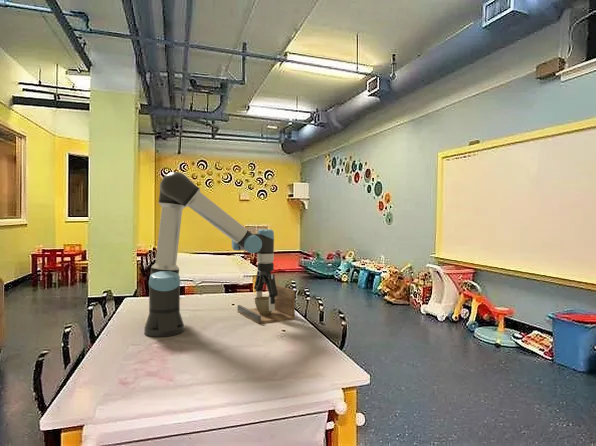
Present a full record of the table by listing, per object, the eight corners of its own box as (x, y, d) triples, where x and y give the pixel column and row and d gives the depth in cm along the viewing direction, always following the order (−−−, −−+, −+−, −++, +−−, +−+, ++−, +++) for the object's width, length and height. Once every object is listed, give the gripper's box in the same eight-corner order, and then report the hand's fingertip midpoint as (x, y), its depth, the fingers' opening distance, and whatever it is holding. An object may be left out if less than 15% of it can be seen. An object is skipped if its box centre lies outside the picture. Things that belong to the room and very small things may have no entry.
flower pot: (274, 316, 189) (275, 300, 188) (253, 315, 189) (253, 300, 189) (276, 311, 199) (276, 296, 198) (255, 310, 199) (255, 296, 199)
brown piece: (258, 324, 179) (258, 294, 178) (237, 312, 199) (237, 285, 199) (294, 319, 188) (294, 290, 188) (270, 308, 209) (271, 282, 208)
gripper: (285, 264, 184) (285, 312, 185) (261, 259, 206) (261, 301, 206) (270, 265, 180) (269, 314, 181) (247, 260, 202) (247, 303, 202)
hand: (265, 307), depth 194 cm, fingers open, 13 cm apart
